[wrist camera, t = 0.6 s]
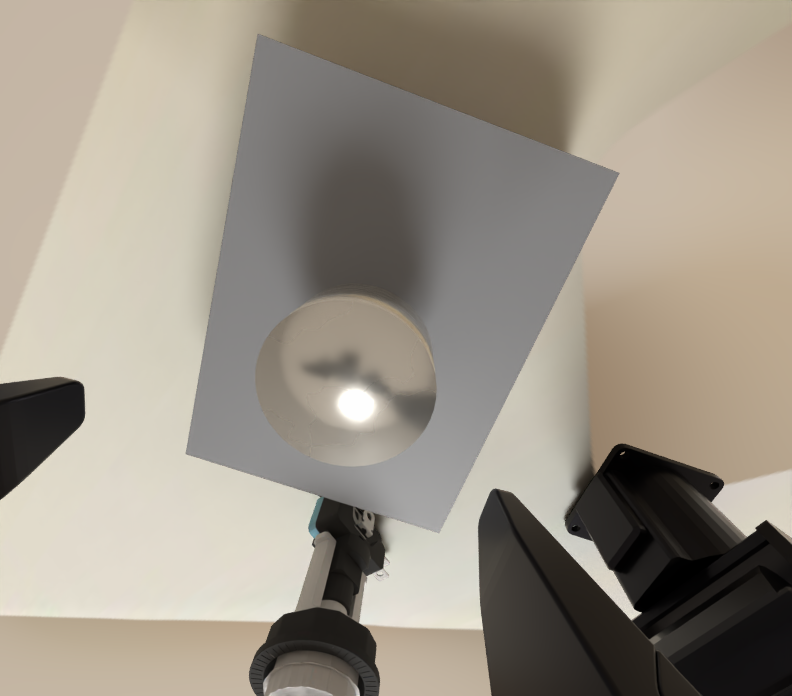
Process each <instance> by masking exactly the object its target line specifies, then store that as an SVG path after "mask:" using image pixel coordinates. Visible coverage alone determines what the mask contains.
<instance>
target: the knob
mask: <svg viewBox="0 0 792 696" xmlns="http://www.w3.org/2000/svg"><path fill="white" fill-rule="evenodd" d="M255 385H256V392H257V396H258V400H259V404H260V406H261V408H262V411H263V413H264V415H265V417H266V418H267V420H268V422H269V423H270V425H271V426H272V427H273V429H274V430H275V431H276V432H277V433H278V434H279V436H280V437H281V438H282V439H283V440H284V441H286V442H287V443H288V444H289V445H291V446H292V447H293V448H295V449H296V450H298V451H299V452H301V453H303V454H305V455H307V456H309V457H311V458H313V459H316V460H318V461H321V462H324V463H328V464H332V465H339V466H352V467H355V466H366V465H372V464H376V463H380V462H383V461H386V460H388V459H390V458H393V457H395V456H397V455H398V454H400V453H401V452H403V451H405V450H406V449H407V448H408V447H410V446H411V445H412V444H413V443H414V442H415V441H416V440H417V439H418V438H419V437H420V436H421V434H422V433H423V431H424V430H425V428H426V427H427V425H428V423H429V421H430V419H431V416H432V414H433V411H434V407H435V402H436V392H437V385H436V375H435V367H434V358H433V349H432V343H431V339H430V335H429V333H428V330H427V328H426V326H425V324H424V322H423V321H422V319H421V318H420V316H419V315H418V314H417V312H416V311H415V310H414V309H413V308H412V307H411V306H410V305H409V304H408V303H407V302H406V301H404V300H403V299H402V298H400V297H399V296H397V295H395V294H394V293H392V292H390V291H387V290H385V289H383V288H380V287H376V286H373V285H367V284H344V285H338V286H335V287H331V288H329V289H326V290H324V291H322V292H320V293H318V294H316V295H315V296H313V297H312V298H311V299H309V300H308V301H307V302H305V303H304V304H303V305H301V306H300V307H299V308H297V309H296V310H295V311H293V312H292V313H291V314H290V315H288V316H287V317H286V318H284V319H283V320H282V321H281V322H279V323H278V324H277V326H276V327H275V328H274V329H273V330H272V331H271V332H270V334H269V335H268V337H267V338H266V340H265V341H264V343H263V345H262V348H261V350H260V352H259V356H258V359H257V363H256V370H255Z"/></svg>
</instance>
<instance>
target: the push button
mask: <svg viewBox="0 0 792 696" xmlns="http://www.w3.org/2000/svg"><path fill="white" fill-rule="evenodd" d="M367 513H368V514H369V515H370V518H371V520H369V519H368V517H367ZM374 521H375V517H374V514H373V513H372V512H370V511H366V510H364V511H363V513H362V511H361V510H360V509H359V508H357V507H354V506H350V505H347V504H344V503H341V502H338V501H334V500H331V499H328V498H325V497H321V498H319V499H318V500H317V502H316V506H315V509H314V512H313V515H312V517H311V520H310V523H309V527H308V529H309V532H310V534H311V535H312V536H313V538H314V540H313V543H312V545H313V547H314V548H315V549H314V552H313V556H312V559H311V562H310V565H309V568H308V572H307V575H306V578H305V581H304V585H303V588H302V591H301V594H300V598H299V601H298V604H297V607H296V610H295V612H292V613H287V614H284V615H283V616H282V617H281V618H279V619H278V620H277V621H276V622H275V623H274V624H273V625H272V626H271V629H270V631H269V634H268V637H267V640H266V643H265V644H263V645H262V646H261V647H260V648H259V650H258V651H257V652H256V654H255V656H254V659H253V662H252V664H251V667H250V671H249V680H250V684H251V687H252V689H253V691H254V693H255V694H256V695H257V696H378V695H379V686H380V677H379V672H378V669H377V667H376V665H375V656H376V642H375V641H374V639H373V637H372V635H371V633H370V631H369V630H368V629H367V628H366V627H364V626H363V625H361V624H360V623H359V619H360V612H361V605H362V598H363V591H364V586H366V583H367V577H366V576H368V575H370V574H373V575H374V576H375V577H376V579H377V580H378V581H381V580H384V579H386V578H388V577H389V575H388V574H387V572H386V571H385V570H384V569H383V567H385V566H387V565H389V564H390V562H389V561H388V560H387V558H386V557H385V548H384V546H383V544H382V543H381V536H380V534H379V533H378V531H377V530H376V529H375V528H374ZM377 572H382V573H383V575H378V574H377Z"/></svg>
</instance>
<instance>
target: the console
mask: <svg viewBox="0 0 792 696" xmlns="http://www.w3.org/2000/svg"><path fill="white" fill-rule="evenodd" d="M618 175H619V173H618V172H615V171H613V170H610V169H608V168H605V167H603V166H600V165H597V164H595V163H592V162H590V161H587V160H584V159H582V158H579V157H577V156H574V155H571V154H569V153H566V152H564V151H561V150H558V149H556V148H553V147H551V146H548V145H545V144H543V143H540V142H538V141H535V140H532V139H530V138H527V137H525V136H522V135H519V134H517V133H514V132H512V131H509V130H506V129H504V128H501V127H499V126H496V125H493V124H491V123H488V122H486V121H483V120H481V119H478V118H475V117H473V116H470V115H468V114H465V113H462V112H460V111H457V110H455V109H452V108H449V107H447V106H444V105H442V104H439V103H436V102H434V101H431V100H429V99H426V98H423V97H421V96H418V95H416V94H413V93H410V92H408V91H405V90H403V89H400V88H397V87H395V86H392V85H390V84H387V83H384V82H382V81H379V80H377V79H374V78H371V77H369V76H366V75H364V74H361V73H358V72H356V71H353V70H351V69H348V68H346V67H343V66H340V65H338V64H335V63H333V62H330V61H327V60H325V59H322V58H320V57H317V56H314V55H312V54H309V53H307V52H304V51H301V50H299V49H296V48H294V47H291V46H288V45H286V44H283V43H281V42H278V41H275V40H273V39H270V38H268V37H265V36H262V35H260V34H258V35H257V41H256V47H255V53H254V58H253V64H252V70H251V76H250V82H249V88H248V93H247V99H246V105H245V111H244V117H243V123H242V128H241V134H240V140H239V146H238V152H237V158H236V163H235V169H234V175H233V181H232V187H231V193H230V198H229V204H228V210H227V216H226V222H225V228H224V233H223V239H222V245H221V251H220V257H219V263H218V268H217V274H216V280H215V286H214V292H213V298H212V303H211V309H210V315H209V321H208V327H207V333H206V338H205V344H204V350H203V356H202V362H201V368H200V373H199V379H198V385H197V391H196V397H195V403H194V409H193V414H192V420H191V426H190V432H189V438H188V444H187V449H186V454H187V455H190V456H193V457H197V458H200V459H203V460H206V461H209V462H213V463H216V464H219V465H222V466H226V467H229V468H232V469H235V470H238V471H242V472H245V473H248V474H251V475H254V476H258V477H261V478H264V479H267V480H270V481H274V482H277V483H280V484H283V485H286V486H290V487H293V488H296V489H299V490H302V491H306V492H309V493H312V494H315V495H318V496H322V497H325V498H328V499H331V500H334V501H338V502H341V503H344V504H347V505H350V506H354V507H357V508H360V509H363V510H366V511H370V512H373V513H376V514H379V515H383V516H386V517H389V518H392V519H395V520H399V521H402V522H405V523H408V524H411V525H415V526H418V527H421V528H424V529H427V530H431V531H434V532H437V533H439V532H440V530H441V528H442V526H443V524H444V522H445V520H446V518H447V516H448V514H449V512H450V510H451V508H452V506H453V504H454V502H455V500H456V499H457V497H458V495H459V493H460V491H461V489H462V487H463V485H464V483H465V481H466V479H467V477H468V475H469V473H470V471H471V469H472V467H473V465H474V463H475V461H476V459H477V457H478V455H479V453H480V451H481V449H482V447H483V445H484V443H485V441H486V439H487V437H488V435H489V433H490V431H491V429H492V427H493V425H494V423H495V421H496V419H497V417H498V415H499V413H500V411H501V409H502V407H503V405H504V403H505V401H506V399H507V397H508V395H509V393H510V391H511V389H512V387H513V385H514V383H515V381H516V379H517V377H518V375H519V373H520V371H521V369H522V367H523V365H524V363H525V361H526V359H527V357H528V355H529V353H530V351H531V349H532V347H533V345H534V343H535V341H536V339H537V337H538V335H539V333H540V331H541V329H542V327H543V325H544V323H545V321H546V319H547V317H548V315H549V313H550V311H551V309H552V307H553V305H554V303H555V301H556V299H557V297H558V295H559V293H560V291H561V289H562V287H563V285H564V283H565V281H566V279H567V277H568V275H569V273H570V271H571V269H572V267H573V265H574V263H575V261H576V259H577V257H578V255H579V253H580V251H581V249H582V247H583V245H584V243H585V241H586V239H587V237H588V235H589V233H590V231H591V229H592V227H593V225H594V223H595V221H596V219H597V217H598V215H599V213H600V211H601V209H602V207H603V205H604V203H605V201H606V199H607V197H608V195H609V193H610V191H611V189H612V187H613V185H614V183H615V181H616V179H617V177H618ZM344 284H367V285H373V286H376V287H380V288H383V289H385V290H387V291H390V292H392V293H394V294H395V295H397V296H399V297H400V298H402V299H403V300H404V301H406V302H407V303H408V304H409V305H410V306H411V307H412V308H413V309H414V310H415V311H416V312H417V314H418V315H419V316H420V318H421V319H422V321H423V322H424V324H425V326H426V328H427V330H428V333H429V335H430V339H431V343H432V349H433V358H434V367H435V375H436V385H437V392H436V402H435V407H434V411H433V414H432V416H431V419H430V421H429V423H428V425H427V427H426V428H425V430H424V431H423V433H422V434H421V436H420V437H419V438H418V439H417V440H416V441H415V442H414V443H413V444H412V445H411V446H410V447H408V448H407V449H406V450H405V451H403V452H401V453H400V454H398V455H397V456H395V457H393V458H390V459H388V460H386V461H383V462H380V463H376V464H372V465H366V466H355V467H352V466H339V465H332V464H328V463H324V462H321V461H318V460H316V459H313V458H311V457H309V456H307V455H305V454H303V453H301V452H299V451H298V450H296V449H295V448H293V447H292V446H291V445H289V444H288V443H287V442H286V441H284V440H283V439H282V438H281V437H280V436H279V434H278V433H277V432H276V431H275V430H274V429H273V427H272V426H271V425H270V423H269V422H268V420H267V418H266V417H265V415H264V413H263V411H262V408H261V406H260V404H259V400H258V396H257V392H256V385H255V370H256V363H257V359H258V356H259V352H260V350H261V348H262V345H263V343H264V341H265V340H266V338H267V337H268V335H269V334H270V332H271V331H272V330H273V329H274V328H275V327H276V326H277V324H278V323H279V322H281V321H282V320H283V319H284V318H286V317H287V316H288V315H290V314H291V313H292V312H293V311H295V310H296V309H297V308H299V307H300V306H301V305H303V304H304V303H305V302H307V301H308V300H309V299H311V298H312V297H313V296H315V295H316V294H318V293H320V292H322V291H324V290H326V289H329V288H331V287H335V286H338V285H344Z"/></svg>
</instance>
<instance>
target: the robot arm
mask: <svg viewBox="0 0 792 696" xmlns="http://www.w3.org/2000/svg"><path fill="white" fill-rule="evenodd" d="M84 418H85V394H84V386H83V384H82V383H81V382H79V381H76V380H72V379H68V378H64V377H52V378H44V379H36V380H28V381H20V382H12V383H4V384H0V500H1V499H2V498H4V497H5V496H6V495H7V494H8V493H10V492H11V491H12V490H13V489H14V488H15V487H17V486H18V485H19V484H20V483H21V482H22V481H23V480H24V479H25V478H27V477H28V476H29V475H30V474H31V473H32V472H33V471H34V470H35V469H36V468H37V467H38V466H39V465H40V464H41V463H42V462H43V461H44V460H46V459H47V458H48V457H49V456H50V455H51V454H52V453H53V452H54V451H55V450H56V449H57V448H58V447H59V446H60V445H61V444H62V443H63V442H64V441H65V440H66V439H67V438H69V437H70V436H71V435H72V434H73V433H74V432H75V431H76V430H77V429H78V428H79V427H80V426H81V424H82V423H83V421H84ZM622 452H625V453H624V454H623V455H620V454H621V453H622ZM711 483H712V484H711ZM723 486H724V482H723V480H721V479H720V478H719V477H718V476H717V475H715V474H713V473H710V472H707V471H704V470H701V469H697V468H695V467H692V466H689V465H686V464H683V463H680V462H677V461H674V460H671V459H668V458H665V457H662V456H659V455H656V454H653V453H650V452H648V451H644V450H642V449H639V448H636V447H633V446H630V445H627V444H618V445H616V446H614V448H613V449H612V450H611V452H610V453H609V455H608V456H607V458H606V459H605V461H604V463H603V464H602V466H601V467H600V469H599V470H598V472H597V473H596V475H595V476H594V478H593V480H592V481H591V483H590V484H589V486H588V487H587V489H586V490H585V492H584V493H583V495H582V497H581V498H580V500H579V501H578V503H577V504H576V506H575V507H574V509H573V510H572V512H571V514H570V515H569V517H568V518H567V520H566V522H565V526H566V529H567V531H568V532H569V533H570V534H572V535H575V536H578V537H581V538H584V539H587V540H591V541H593V542H594V544H595V546H596V547H597V549H598V551H599V553H600V555H601V557H602V558H603V560H604V562H605V564H606V566H607V568H608V569H609V570H612V571H613V572H614V574H615V575H616V577H617V579H618V581H619V583H620V584H621V586H622V588H623V590H624V592H625V593H626V595H627V597H628V599H629V601H630V602H631V604H632V606H633V608H634V609H635V610H636V611H639V612H642V613H641V614H640V615H638V616H637V617H635V618H634V619H633V620H630V619H629V618H628V616H627V615H626V614H625V613H624V612H623V611H622V610H621V609H620V608H619V607H618V606H617V605H616V604H615V602H614V601H613V600H612V599H611V598H610V597H609V596H608V595H607V594H606V593H605V592H604V591H603V590H602V589H601V587H600V586H599V585H598V584H597V583H596V582H595V581H594V580H593V579H592V578H591V577H590V576H589V575H588V573H587V572H586V571H585V570H584V569H583V568H582V567H581V566H580V565H579V564H578V563H577V562H576V561H575V560H574V558H573V557H572V556H571V555H570V554H569V553H568V552H567V551H566V550H565V549H564V548H563V547H562V546H561V545H560V543H559V542H558V541H557V540H556V539H555V538H554V537H553V536H552V535H551V534H550V533H549V532H548V531H547V529H546V528H545V527H544V526H543V525H542V524H541V523H540V522H539V521H538V520H537V519H536V518H535V517H534V516H533V514H532V513H531V512H530V511H529V510H528V509H527V508H526V507H525V506H524V505H523V504H522V503H521V502H520V500H519V499H518V498H517V497H516V496H515V495H514V494H513V493H511V492H508V491H504V490H500V489H493V490H492V491H491V492H490V494H489V497H488V499H487V501H486V504H485V506H484V509H483V511H482V514H481V516H480V519H479V525H478V543H479V587H480V606H481V616H482V623H483V631H484V639H485V646H486V655H487V663H488V670H489V678H490V686H491V694H492V696H792V538H791V537H790V536H788V535H787V534H785V533H784V532H783V531H781V530H780V529H778V528H777V527H776V526H774V525H773V524H771V523H770V522H769V521H767V520H766V521H764V522H763V523H761V524H760V525H759V526H757V527H756V528H755V529H756V530H757V531H755V532H754V533H752V534H751V535H750V536H748V537H746V536H745V535H744V534H743V533H742V532H741V531H740V530H739V529H738V528H737V527H736V526H735V525H734V524H733V523H732V522H731V521H730V520H729V519H728V518H727V517H726V516H725V515H723V514H722V513H721V512H720V511H719V510H718V509H717V508H716V507H715V506H714V505H713V504H712V503H711V502H712V501H713V499H714V498H715V497H716V496H717V495H718V493H719V492H720V491H721V490H722V488H723ZM575 525H576V526H575ZM573 526H574V527H573Z"/></svg>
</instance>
